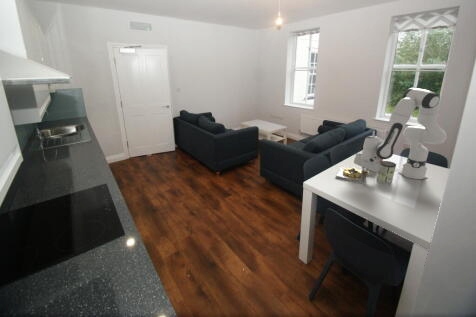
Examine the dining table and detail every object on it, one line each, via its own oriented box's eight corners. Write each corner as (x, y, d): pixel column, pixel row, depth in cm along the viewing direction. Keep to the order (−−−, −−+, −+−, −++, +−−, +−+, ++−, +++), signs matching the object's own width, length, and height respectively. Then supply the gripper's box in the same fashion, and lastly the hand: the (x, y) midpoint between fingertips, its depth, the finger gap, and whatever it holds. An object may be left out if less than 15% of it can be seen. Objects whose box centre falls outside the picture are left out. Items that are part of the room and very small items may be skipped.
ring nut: (345, 169, 193) (345, 164, 191) (368, 173, 184) (369, 168, 182) (342, 174, 183) (342, 170, 181) (367, 179, 174) (367, 175, 172)
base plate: (341, 169, 198) (342, 162, 196) (367, 174, 188) (368, 167, 185) (335, 177, 183) (336, 171, 181) (363, 184, 172) (365, 176, 170)
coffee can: (380, 176, 184) (384, 159, 179) (394, 180, 176) (398, 163, 171) (373, 179, 179) (377, 162, 173) (388, 184, 171) (392, 167, 166)
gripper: (353, 152, 184) (350, 168, 189) (377, 161, 167) (373, 178, 172) (359, 151, 187) (356, 167, 192) (383, 160, 169) (378, 177, 174)
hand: (364, 172), depth 182 cm, fingers closed
